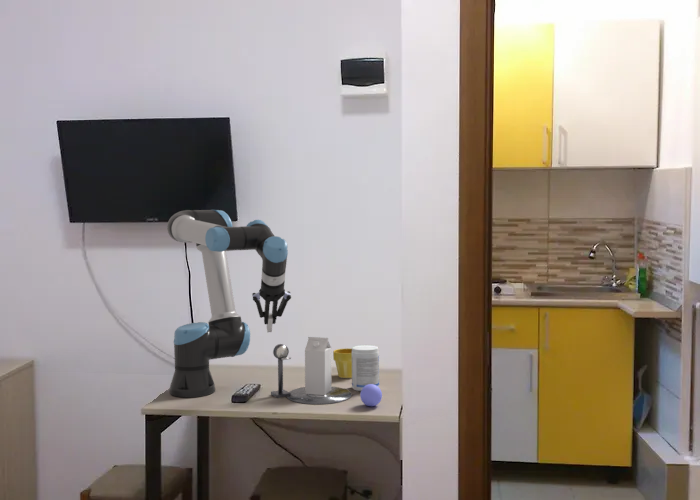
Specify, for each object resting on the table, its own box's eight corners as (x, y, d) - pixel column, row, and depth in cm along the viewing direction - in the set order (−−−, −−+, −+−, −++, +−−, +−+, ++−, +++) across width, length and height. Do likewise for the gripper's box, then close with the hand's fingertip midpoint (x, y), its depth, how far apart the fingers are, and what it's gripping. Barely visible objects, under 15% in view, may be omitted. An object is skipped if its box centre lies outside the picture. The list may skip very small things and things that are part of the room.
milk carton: (312, 389, 251) (311, 335, 250) (331, 390, 249) (331, 336, 248) (305, 394, 245) (304, 338, 243) (324, 395, 243) (324, 339, 241)
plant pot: (335, 372, 277) (335, 347, 277) (362, 373, 276) (361, 348, 276) (331, 379, 267) (331, 353, 266) (359, 380, 266) (359, 353, 265)
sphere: (376, 410, 227) (376, 388, 227) (356, 407, 230) (356, 385, 230) (385, 404, 234) (385, 383, 233) (365, 401, 237) (365, 380, 236)
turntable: (305, 407, 230) (305, 406, 230) (275, 392, 248) (275, 391, 248) (363, 398, 241) (363, 396, 241) (331, 384, 260) (331, 383, 260)
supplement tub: (384, 389, 253) (384, 347, 252) (364, 393, 247) (364, 351, 246) (366, 384, 260) (366, 343, 259) (346, 388, 254) (346, 347, 253)
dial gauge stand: (278, 398, 241) (277, 346, 240) (270, 394, 246) (270, 343, 245) (291, 396, 244) (291, 344, 243) (284, 392, 249) (283, 342, 247)
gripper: (253, 287, 229) (251, 338, 244) (294, 286, 232) (289, 336, 247) (251, 271, 235) (249, 322, 250) (291, 270, 238) (286, 320, 253)
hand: (269, 329), depth 249 cm, fingers closed
